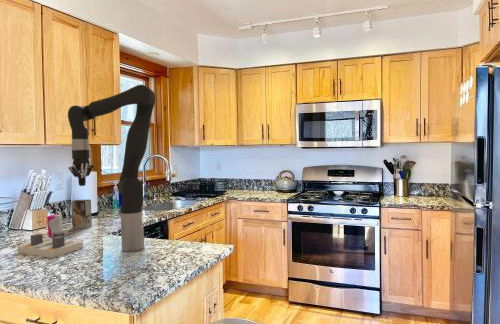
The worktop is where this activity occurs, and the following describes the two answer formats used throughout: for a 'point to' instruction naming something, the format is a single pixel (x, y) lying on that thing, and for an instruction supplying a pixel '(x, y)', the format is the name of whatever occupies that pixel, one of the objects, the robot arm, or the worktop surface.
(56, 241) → the tab
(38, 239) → the tab
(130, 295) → the worktop surface
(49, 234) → the supplement box
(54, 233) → the tab
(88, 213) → the coffee box
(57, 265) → the worktop surface
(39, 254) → the switch panel
